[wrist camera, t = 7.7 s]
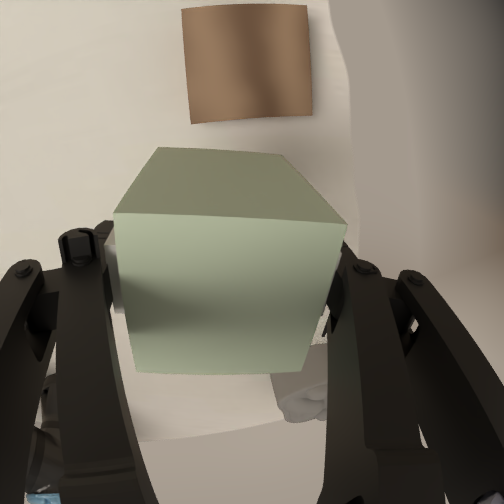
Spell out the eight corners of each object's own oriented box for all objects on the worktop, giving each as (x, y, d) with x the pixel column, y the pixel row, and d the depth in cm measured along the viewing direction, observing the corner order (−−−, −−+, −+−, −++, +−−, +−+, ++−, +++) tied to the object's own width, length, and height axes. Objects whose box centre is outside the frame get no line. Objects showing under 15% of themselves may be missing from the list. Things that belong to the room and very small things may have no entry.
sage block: (157, 255, 17) (136, 372, 10) (158, 147, 14) (112, 213, 7) (264, 259, 18) (300, 371, 11) (281, 155, 15) (347, 224, 8)
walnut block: (193, 118, 27) (190, 124, 23) (184, 21, 22) (181, 9, 18) (295, 110, 28) (312, 115, 24) (290, 16, 23) (306, 5, 19)
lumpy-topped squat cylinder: (264, 360, 45) (275, 407, 38) (345, 332, 45) (367, 374, 37) (280, 393, 51) (291, 434, 43) (350, 368, 50) (367, 407, 43)
